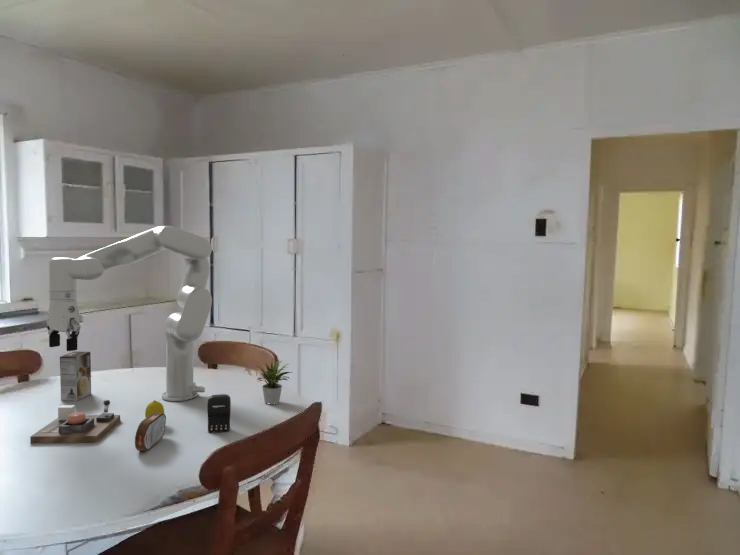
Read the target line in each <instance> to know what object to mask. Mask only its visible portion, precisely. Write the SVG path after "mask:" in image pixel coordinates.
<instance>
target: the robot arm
mask: <svg viewBox="0 0 740 555" xmlns="http://www.w3.org/2000/svg"><path fill="white" fill-rule="evenodd" d="M212 248H213V247H212V244H211V242H210V241H209V240H208V239H207V238H205V237H203V236H201V235H198V234H194V233H193V232H192V233H191V232H189V231H187V230H183V229H182V228H178V227H175V226H172V225H159V226H158V225H157V226H156V227H152V228H151V229H147V230H145V231H143V232H140V233H137V234H135V235H133V236H130V237H128V238H125V239H123V240H121V241H120V240H119V241H117V242H115V243H113V244H109V245H107V246H105V247H102V248H99V249H97V250H94V251H91V252H88V253H86V254H85V255H82V256H79V257H78V258H72V257H52V258H51V259H49V262H48V263H49V265H48V268H49V269H48V272H49V273H48V274H49V276H48V278H49V282H48V284H49V288H48V290H49V291H48V294H49V297H48V300H49V307H48V318H47V319H46V321H45V322H46V326H47V328H46V329H47V330H48V333H47V334H48V335H49V336H48V345H49V346H48V347H49V348H56V347H60V346H61V334H60V332H61V333H65V335H66V336H67V338H66V339H65V340H66V351H67V352H75V351H78V338H79V336H80V331H81V328H82V327H81V324H80V312H79V305H78V304H79V303H78V301H77V280H81V281H96V280H99V279H100V278H102V277H103V276H104V274H105V271H106V270H109V269H112V268H114V267H118V266H119V267H120V266H124V265H130V264H131V265H132V264H135V263H137V262H138V263H139V262H140V261H143V260H145V259H146V258H148V257H151V256H153V255H155V254H159V253H160V252H163V251H165V250H168V251H170V252H173V253H175V254H178V255H181V257H182V258H183V260H184V262H185V271H184V275H183V278H182V281H181V284H180V287H179V290H178V293H177V295H176V302H177V305H178V306H179V307H180V308H182V311H177V312H176V311H175V312H173V313H171V314H170V315H168V316H167V318H166V319H165V321H164V327H163V328H164V337H165V344H166V346H165V347H166V348H165V349H166V353H165V354H166V357H165V358H166V359H165V360H166V364H165V365H166V366H165V367H166V371H165V372H166V373H165V377H166V378H165V380H166V381H165V383H166V386H165V387H166V390H165V391H164V392H162V394H161V398H162V399H163V400H165V401H169V402H182V401H183V402H184V401H190V400H192V398H193V399H195V398H197V397H198V395H199V393H202V394H203V393H205V392H206V387H205V386H203V385H199V386H197V384H196V382H194V353H195V352H194V350H195V349H194V342H195V341H196V340H198V339H199V338H200V337H201V335H202V334H203V332H204V329H205V326H206V324H207V321H208V318H209V314H210V312H211V308H212V303H213V298H212V297H213V296H212V294H211V293H210V291H209V290H208V289H207V284H208V280H209V276H210V272H211V271H210V270H211V269H210V263H209V257H210V256H211V254H212ZM196 396H197V397H196ZM194 397H195V398H194ZM189 399H190V400H189Z"/></svg>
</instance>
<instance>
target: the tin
mask: <svg viewBox="0 0 740 555" xmlns="http://www.w3.org/2000/svg"><path fill="white" fill-rule="evenodd" d="M166 421H167V416H166V414H165V412H164V413H157V412H154V413H153V414H151V415H150V416H148V417H147V418H146V417H145V418H144V419H143V420H141V422H140V423H139V424H138V426H137V429H136V432H135V436H134V446H135V449H136V450H137V451H143V452H146V451H147V452H148V451H149V450H151V448H153V447H155V445H157V444H158V443H159V442H160V441H161V439H163V436H164V435H165V431H166Z"/></svg>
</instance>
